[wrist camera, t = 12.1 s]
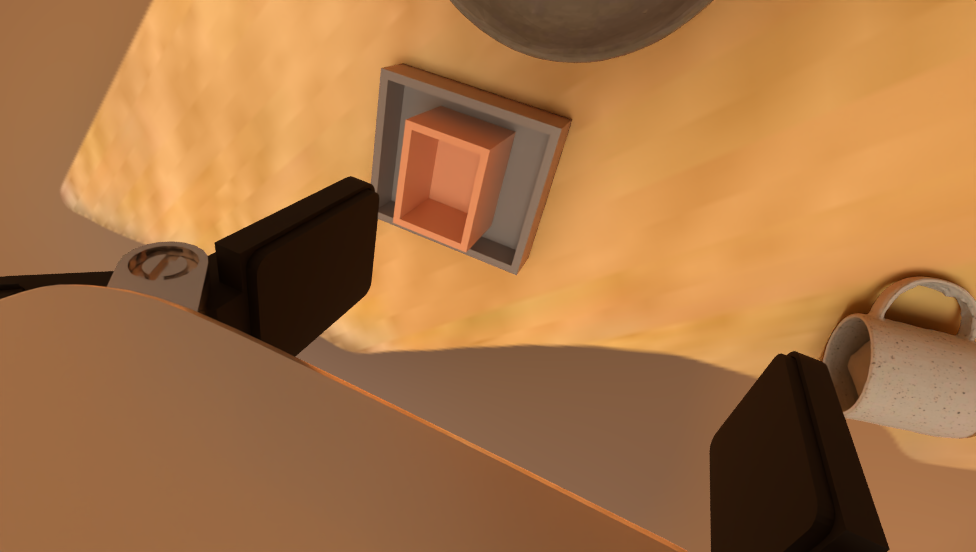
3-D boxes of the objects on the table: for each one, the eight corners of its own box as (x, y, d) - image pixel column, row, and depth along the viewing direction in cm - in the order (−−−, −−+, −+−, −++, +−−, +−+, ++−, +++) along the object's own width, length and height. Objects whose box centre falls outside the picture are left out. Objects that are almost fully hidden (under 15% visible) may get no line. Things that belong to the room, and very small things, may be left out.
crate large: (403, 63, 41) (381, 68, 38) (572, 119, 38) (561, 129, 35) (387, 202, 49) (368, 214, 46) (528, 258, 46) (516, 275, 43)
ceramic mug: (928, 397, 38) (974, 473, 32) (812, 370, 41) (833, 435, 34) (1003, 282, 33) (1075, 345, 27) (864, 259, 36) (900, 312, 29)
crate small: (440, 105, 41) (405, 119, 36) (515, 132, 40) (489, 150, 35) (425, 199, 46) (392, 222, 41) (491, 225, 45) (465, 252, 40)
